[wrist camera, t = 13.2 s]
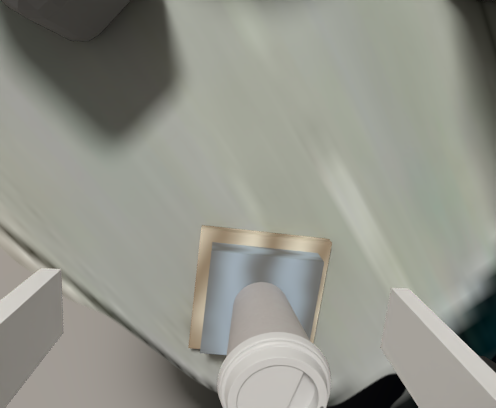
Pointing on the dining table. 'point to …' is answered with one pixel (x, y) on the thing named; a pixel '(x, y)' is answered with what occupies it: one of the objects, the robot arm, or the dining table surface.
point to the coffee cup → (271, 355)
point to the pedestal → (254, 279)
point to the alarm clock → (70, 15)
